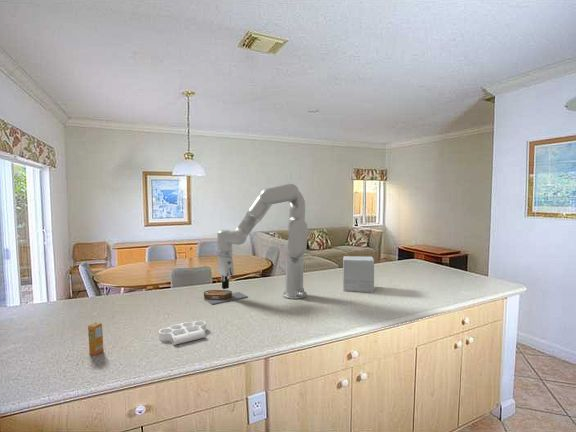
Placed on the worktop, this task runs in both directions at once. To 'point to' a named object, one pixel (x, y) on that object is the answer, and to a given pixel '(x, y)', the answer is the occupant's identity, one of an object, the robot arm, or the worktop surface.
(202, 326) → the white egg tray
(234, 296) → the gray mat
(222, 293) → the tin
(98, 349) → the supplement box
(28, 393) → the worktop surface
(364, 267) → the supplement box
